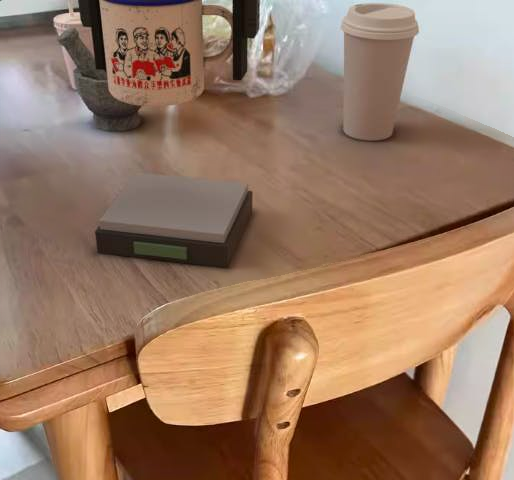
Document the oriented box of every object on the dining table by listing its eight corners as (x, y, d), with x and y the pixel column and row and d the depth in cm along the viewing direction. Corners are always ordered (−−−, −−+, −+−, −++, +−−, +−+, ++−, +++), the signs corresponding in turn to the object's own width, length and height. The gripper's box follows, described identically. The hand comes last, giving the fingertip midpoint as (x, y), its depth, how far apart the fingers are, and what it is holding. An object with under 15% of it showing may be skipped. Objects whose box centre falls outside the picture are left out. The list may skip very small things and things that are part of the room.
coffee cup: (380, 115, 102) (395, -1, 93) (417, 139, 95) (437, 17, 86) (319, 123, 99) (328, 4, 90) (353, 149, 92) (366, 23, 83)
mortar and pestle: (154, 109, 102) (148, 18, 95) (152, 135, 95) (146, 38, 88) (73, 110, 102) (60, 18, 94) (65, 136, 94) (50, 38, 87)
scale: (96, 254, 71) (92, 223, 69) (136, 199, 80) (134, 170, 78) (226, 270, 69) (226, 238, 67) (252, 211, 79) (252, 181, 77)
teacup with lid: (100, 108, 63) (83, -43, 56) (112, 75, 70) (98, -63, 63) (239, 109, 63) (240, -41, 56) (237, 76, 71) (237, -61, 63)
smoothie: (63, 80, 112) (49, -21, 103) (105, 78, 113) (95, -22, 104) (62, 94, 107) (47, -11, 98) (106, 92, 108) (95, -11, 99)
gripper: (328, -236, 54) (310, 67, 67) (20, -241, 57) (61, 49, 70) (315, -238, 48) (298, 94, 61) (-27, -244, 51) (27, 73, 64)
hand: (171, 70), depth 66 cm, fingers closed on teacup with lid, 12 cm apart
